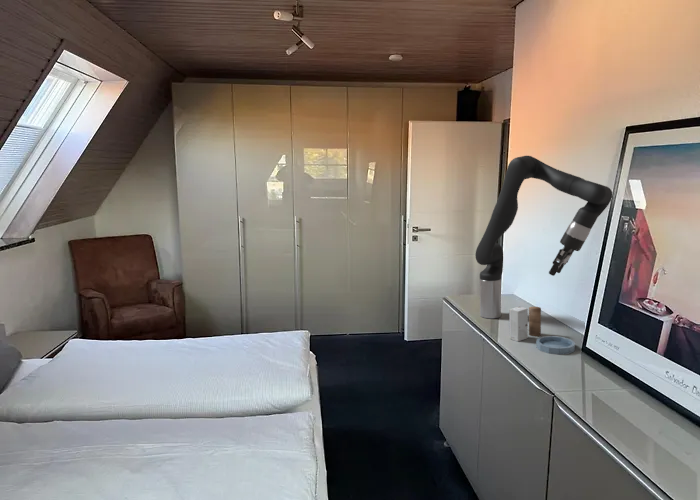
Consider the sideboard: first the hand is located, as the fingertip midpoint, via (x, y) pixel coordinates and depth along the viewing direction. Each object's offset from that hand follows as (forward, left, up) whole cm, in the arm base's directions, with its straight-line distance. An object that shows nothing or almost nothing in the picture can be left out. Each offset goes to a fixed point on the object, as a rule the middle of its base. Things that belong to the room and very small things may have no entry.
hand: (554, 273), depth 186 cm
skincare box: (-4, -12, -26) cm, 29 cm away
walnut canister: (-7, -4, -26) cm, 27 cm away
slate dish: (+8, -3, -26) cm, 28 cm away
